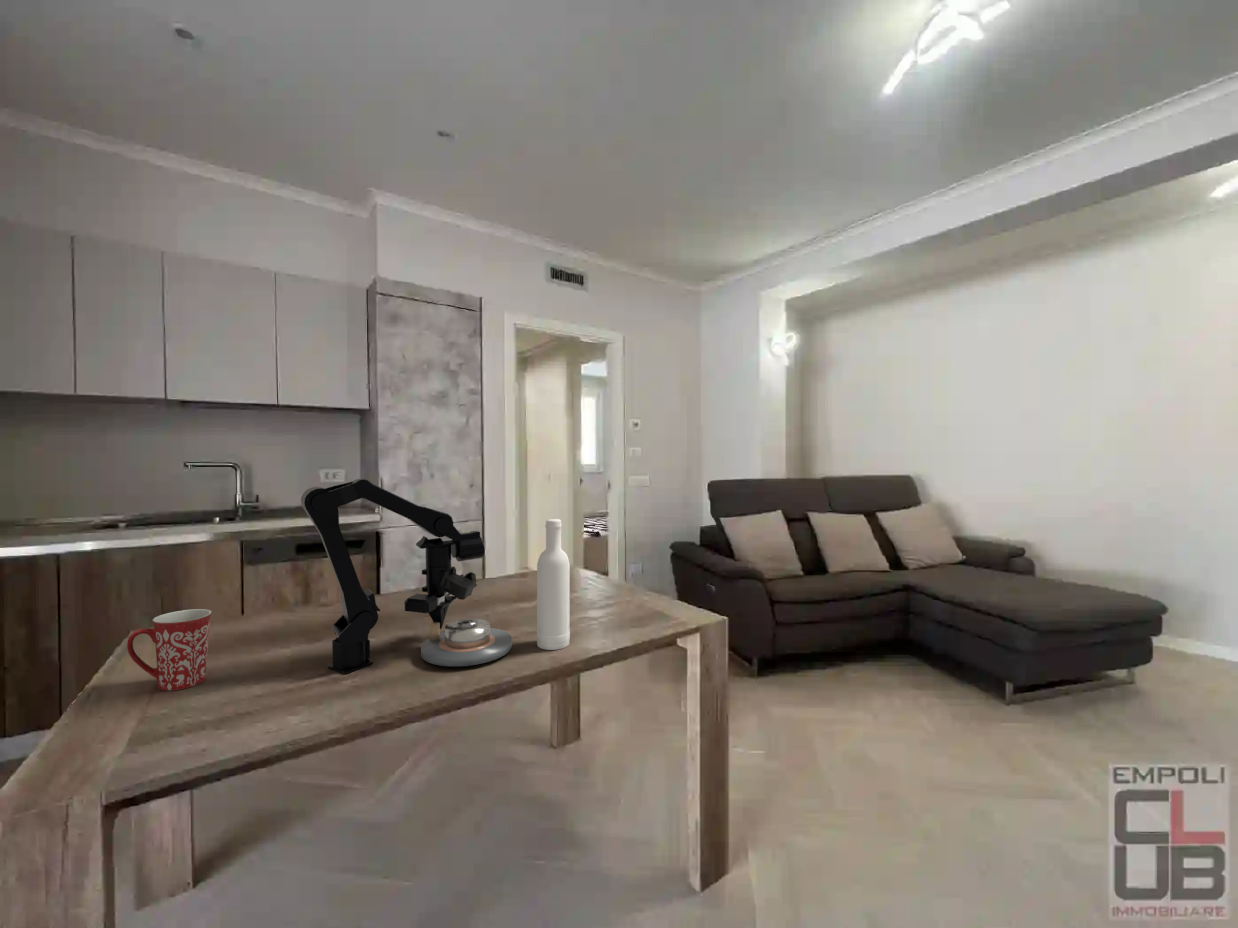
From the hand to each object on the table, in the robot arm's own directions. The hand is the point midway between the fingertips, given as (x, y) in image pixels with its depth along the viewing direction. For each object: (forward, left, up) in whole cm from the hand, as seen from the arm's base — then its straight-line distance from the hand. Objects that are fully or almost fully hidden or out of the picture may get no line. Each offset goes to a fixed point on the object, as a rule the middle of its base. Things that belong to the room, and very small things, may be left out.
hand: (439, 628), depth 124 cm
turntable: (0, -9, -4) cm, 10 cm away
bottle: (+14, -23, -4) cm, 27 cm away
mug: (-41, +29, -4) cm, 50 cm away
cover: (0, -9, -1) cm, 9 cm away
